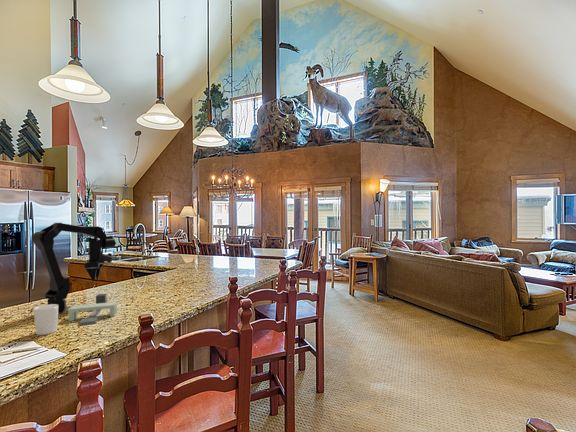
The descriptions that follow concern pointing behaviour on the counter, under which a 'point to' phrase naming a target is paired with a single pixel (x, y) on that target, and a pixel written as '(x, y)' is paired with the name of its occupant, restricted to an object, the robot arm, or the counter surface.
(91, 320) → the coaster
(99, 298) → the grey hammer
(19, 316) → the counter surface
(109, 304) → the bracket
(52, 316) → the white cup
